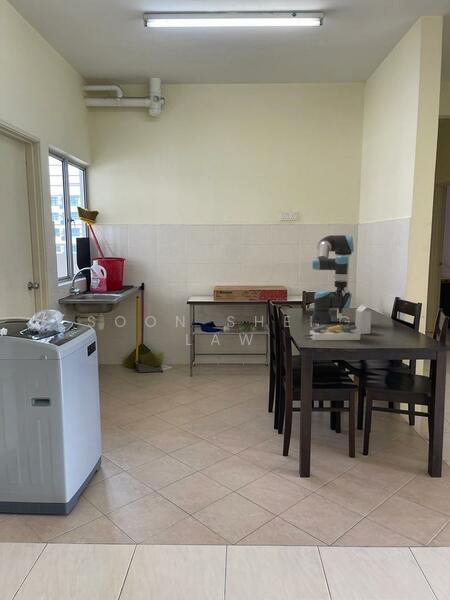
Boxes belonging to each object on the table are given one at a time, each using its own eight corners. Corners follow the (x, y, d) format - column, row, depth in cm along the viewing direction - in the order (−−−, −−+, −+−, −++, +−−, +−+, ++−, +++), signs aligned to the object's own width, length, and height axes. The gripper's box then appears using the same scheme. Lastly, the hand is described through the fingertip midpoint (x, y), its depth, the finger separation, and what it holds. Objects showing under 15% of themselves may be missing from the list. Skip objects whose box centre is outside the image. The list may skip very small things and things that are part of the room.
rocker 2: (342, 330, 276) (341, 327, 276) (354, 327, 277) (353, 324, 276) (344, 331, 272) (343, 329, 271) (356, 328, 272) (356, 325, 272)
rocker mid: (327, 330, 276) (326, 327, 275) (339, 327, 276) (338, 324, 276) (329, 332, 271) (329, 329, 271) (341, 328, 271) (341, 326, 271)
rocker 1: (312, 330, 275) (312, 327, 275) (324, 327, 275) (324, 324, 275) (314, 332, 270) (314, 329, 270) (326, 329, 271) (326, 326, 270)
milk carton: (360, 334, 284) (362, 305, 282) (354, 332, 291) (356, 304, 288) (370, 333, 286) (371, 305, 284) (364, 331, 293) (365, 303, 290)
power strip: (302, 336, 276) (302, 329, 276) (354, 336, 279) (354, 328, 278) (306, 340, 266) (306, 332, 266) (360, 339, 269) (360, 332, 268)
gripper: (331, 279, 276) (330, 316, 279) (338, 281, 263) (336, 320, 266) (343, 279, 276) (341, 316, 279) (350, 281, 263) (348, 320, 266)
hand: (339, 318), depth 272 cm, fingers closed
